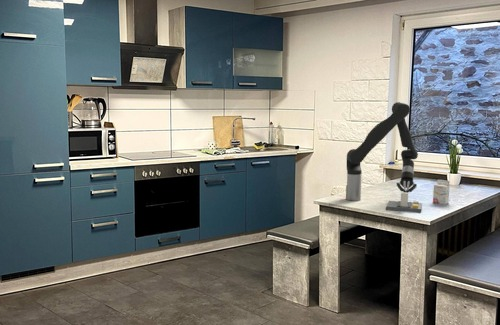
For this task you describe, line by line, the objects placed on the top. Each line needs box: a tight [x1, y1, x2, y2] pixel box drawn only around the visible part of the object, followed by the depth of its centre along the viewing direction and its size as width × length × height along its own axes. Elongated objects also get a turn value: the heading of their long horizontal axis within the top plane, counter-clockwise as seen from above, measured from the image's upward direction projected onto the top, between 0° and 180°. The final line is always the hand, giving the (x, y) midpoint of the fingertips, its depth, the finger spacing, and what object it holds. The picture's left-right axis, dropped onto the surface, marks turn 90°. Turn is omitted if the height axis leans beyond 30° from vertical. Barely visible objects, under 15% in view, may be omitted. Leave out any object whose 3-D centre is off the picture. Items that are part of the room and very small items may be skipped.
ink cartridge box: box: [432, 179, 451, 205], centre depth 322 cm, size 9×5×15 cm, turn 44°
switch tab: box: [400, 191, 409, 207], centre depth 303 cm, size 4×4×8 cm
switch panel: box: [385, 200, 423, 213], centre depth 308 cm, size 20×18×4 cm
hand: (405, 196), depth 315 cm, fingers closed
